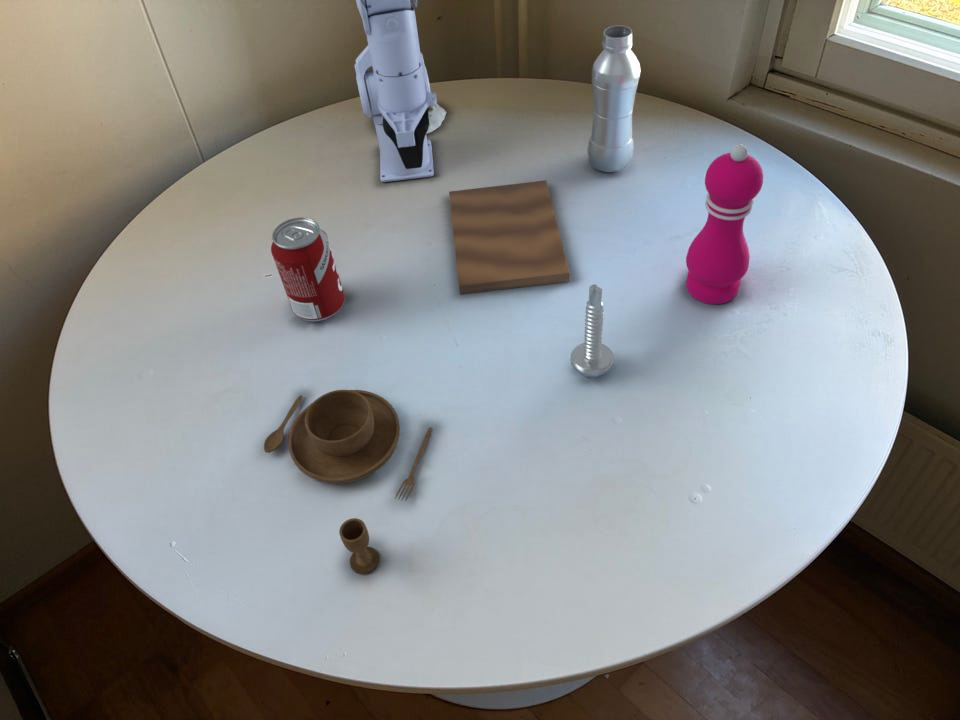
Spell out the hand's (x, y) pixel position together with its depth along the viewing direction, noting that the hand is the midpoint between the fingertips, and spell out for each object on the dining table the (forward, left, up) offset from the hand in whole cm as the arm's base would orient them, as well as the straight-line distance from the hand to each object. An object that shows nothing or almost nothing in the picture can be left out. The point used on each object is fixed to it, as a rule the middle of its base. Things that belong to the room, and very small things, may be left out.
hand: (413, 165), depth 99 cm
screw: (+29, +18, -11) cm, 36 cm away
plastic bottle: (-10, +28, -11) cm, 32 cm away
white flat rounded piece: (-29, -1, -11) cm, 31 cm away
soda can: (+13, -14, -11) cm, 22 cm away
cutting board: (+4, +11, -10) cm, 16 cm away
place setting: (+39, -11, -11) cm, 42 cm away
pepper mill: (+18, +35, -11) cm, 41 cm away
